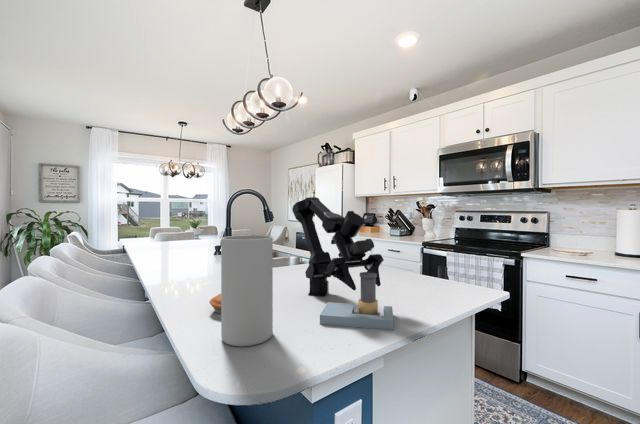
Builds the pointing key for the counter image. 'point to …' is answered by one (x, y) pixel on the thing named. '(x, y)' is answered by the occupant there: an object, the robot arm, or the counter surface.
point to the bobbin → (368, 294)
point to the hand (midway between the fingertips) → (367, 287)
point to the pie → (216, 303)
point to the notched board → (355, 317)
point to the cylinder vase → (246, 289)
